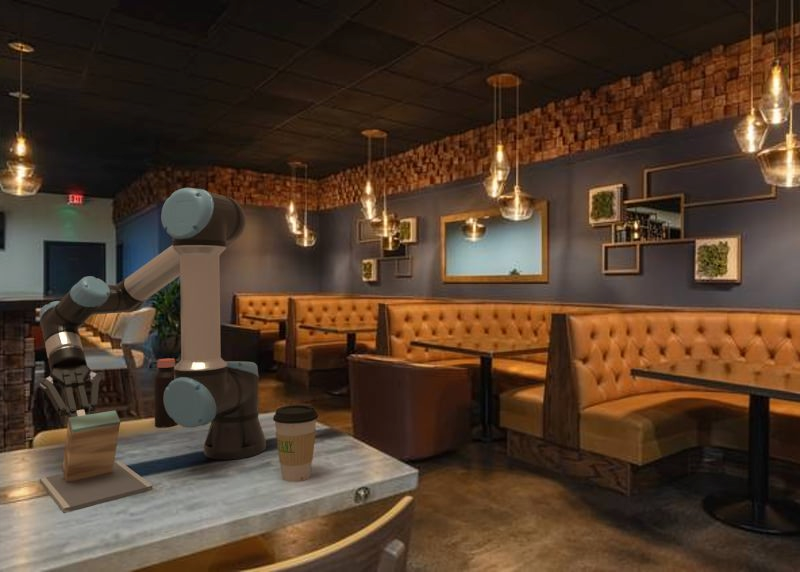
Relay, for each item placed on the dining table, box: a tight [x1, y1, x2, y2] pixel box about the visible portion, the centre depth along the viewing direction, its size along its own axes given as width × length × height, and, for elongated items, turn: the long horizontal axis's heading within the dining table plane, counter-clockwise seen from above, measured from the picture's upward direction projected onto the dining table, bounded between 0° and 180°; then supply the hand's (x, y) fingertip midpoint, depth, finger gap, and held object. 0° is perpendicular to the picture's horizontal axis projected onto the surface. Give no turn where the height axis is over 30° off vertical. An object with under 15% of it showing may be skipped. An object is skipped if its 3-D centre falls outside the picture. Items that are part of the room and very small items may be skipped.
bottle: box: [153, 357, 178, 428], centre depth 163 cm, size 7×7×20 cm
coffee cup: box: [272, 404, 319, 483], centre depth 118 cm, size 10×10×15 cm
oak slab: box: [61, 409, 121, 482], centre depth 116 cm, size 4×9×14 cm, turn 134°
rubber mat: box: [39, 460, 153, 514], centre depth 114 cm, size 22×16×1 cm
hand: (84, 437), depth 118 cm, fingers closed
